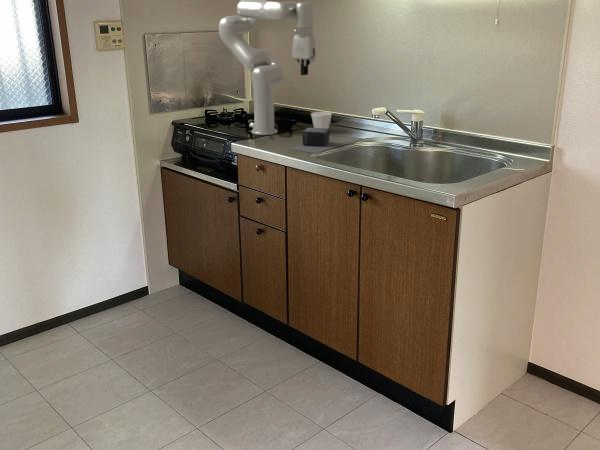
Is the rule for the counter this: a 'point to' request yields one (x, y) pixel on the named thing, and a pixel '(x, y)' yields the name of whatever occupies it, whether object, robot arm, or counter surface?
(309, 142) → the small box
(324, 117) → the cup
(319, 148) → the mat
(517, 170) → the counter surface
